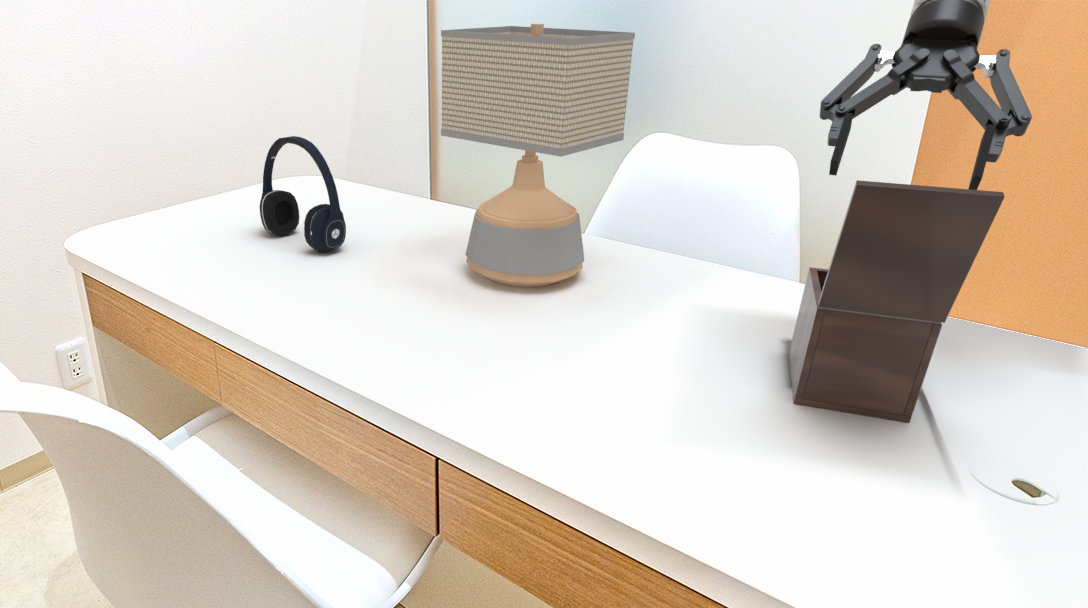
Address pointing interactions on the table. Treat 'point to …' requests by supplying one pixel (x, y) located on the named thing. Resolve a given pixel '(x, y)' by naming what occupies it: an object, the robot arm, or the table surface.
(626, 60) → the desk lamp
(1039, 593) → the table surface
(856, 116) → the robot arm
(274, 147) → the headphones
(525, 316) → the table surface
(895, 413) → the chest
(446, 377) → the table surface
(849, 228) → the lid
